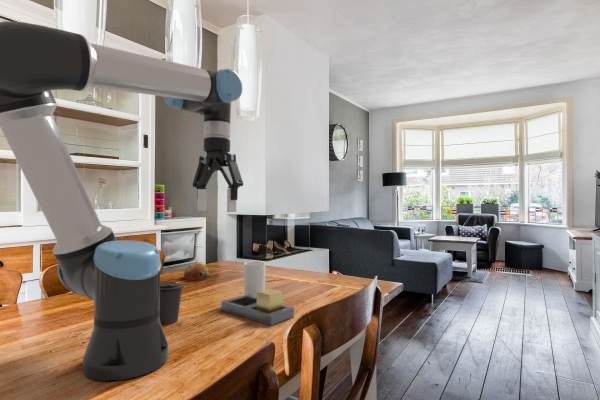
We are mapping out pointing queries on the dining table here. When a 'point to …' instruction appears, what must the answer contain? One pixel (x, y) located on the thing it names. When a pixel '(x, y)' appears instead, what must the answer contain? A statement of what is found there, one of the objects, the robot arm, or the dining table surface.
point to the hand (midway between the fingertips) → (216, 211)
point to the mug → (254, 278)
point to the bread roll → (196, 272)
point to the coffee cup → (169, 302)
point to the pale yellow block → (269, 300)
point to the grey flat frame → (251, 310)
